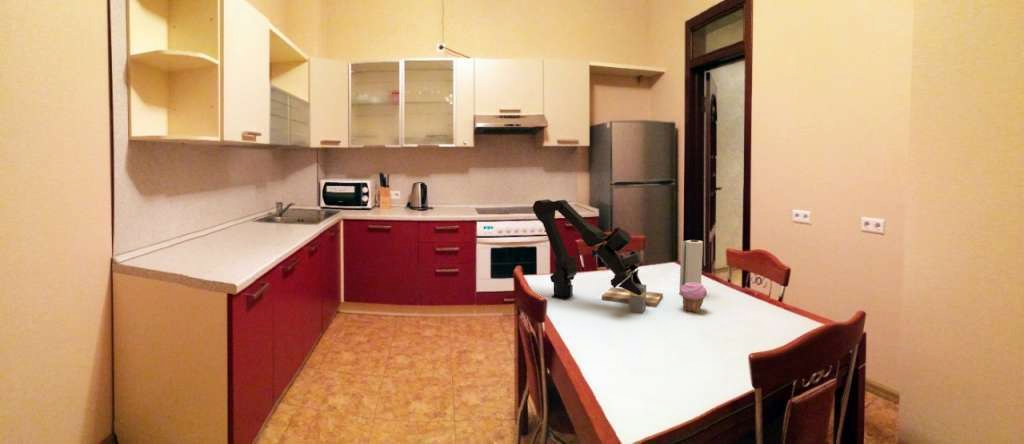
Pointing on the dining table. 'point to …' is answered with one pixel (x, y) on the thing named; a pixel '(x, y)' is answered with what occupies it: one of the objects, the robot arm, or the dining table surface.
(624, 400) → the dining table surface
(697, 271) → the paper towel roll
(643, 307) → the gift box with lid
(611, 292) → the cardboard box
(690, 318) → the dining table surface
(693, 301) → the cupcake
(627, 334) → the dining table surface
